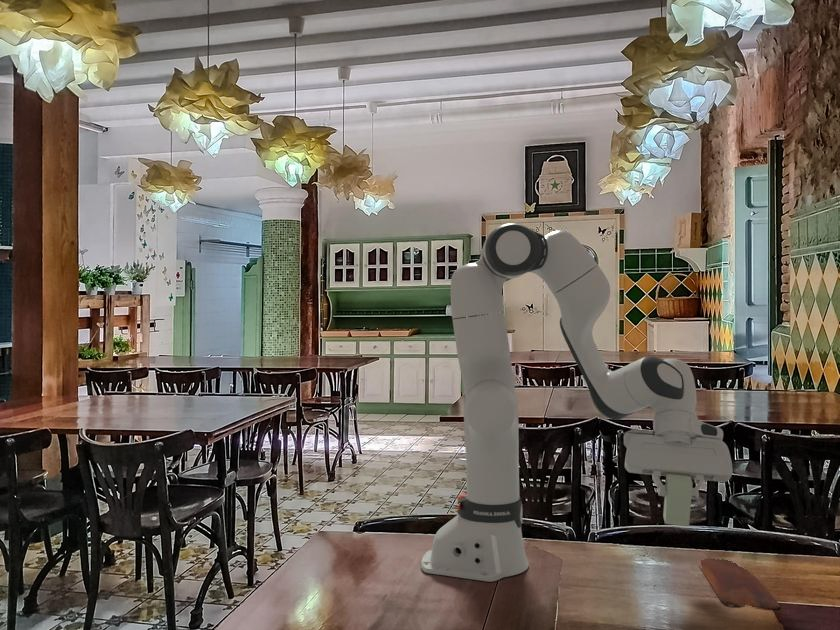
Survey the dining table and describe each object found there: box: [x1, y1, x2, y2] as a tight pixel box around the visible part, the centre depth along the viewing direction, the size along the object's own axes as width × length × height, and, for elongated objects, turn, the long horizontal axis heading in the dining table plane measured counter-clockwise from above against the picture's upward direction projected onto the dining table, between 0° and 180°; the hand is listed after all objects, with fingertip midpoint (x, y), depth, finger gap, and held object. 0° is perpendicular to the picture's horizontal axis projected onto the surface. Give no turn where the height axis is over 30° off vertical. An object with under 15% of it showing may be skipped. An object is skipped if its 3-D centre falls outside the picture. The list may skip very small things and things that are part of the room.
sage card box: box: [662, 474, 694, 527], centre depth 135 cm, size 4×4×9 cm
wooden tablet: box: [701, 559, 781, 610], centre depth 135 cm, size 27×10×2 cm, turn 170°
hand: (678, 496), depth 135 cm, fingers closed on sage card box, 4 cm apart
